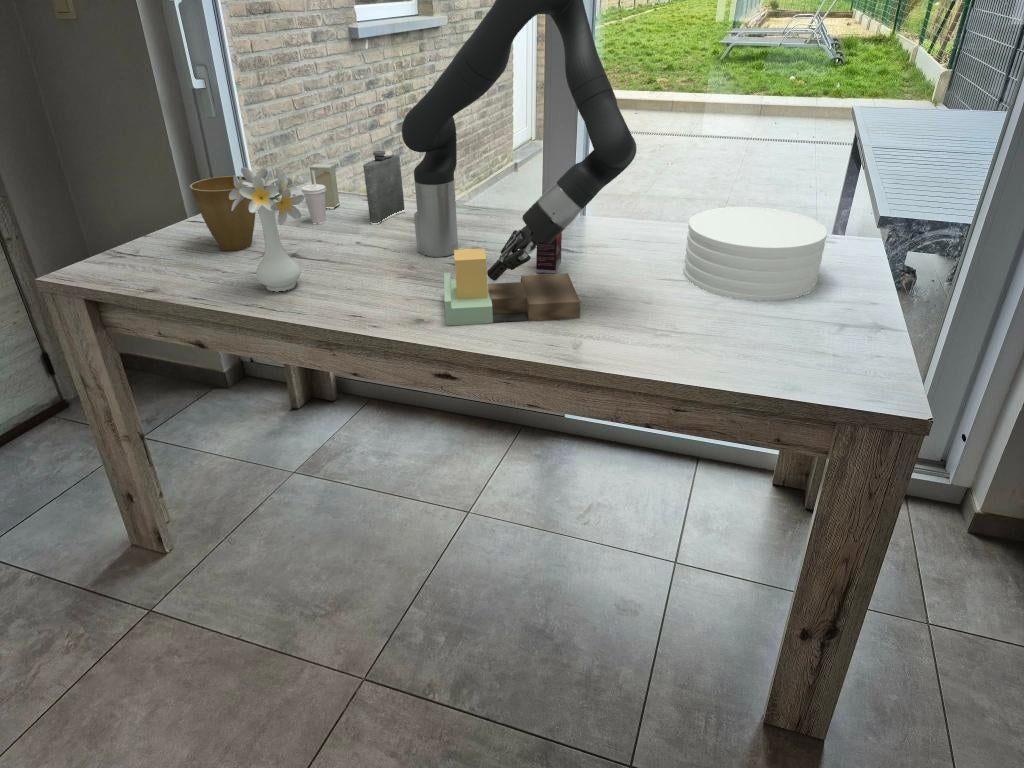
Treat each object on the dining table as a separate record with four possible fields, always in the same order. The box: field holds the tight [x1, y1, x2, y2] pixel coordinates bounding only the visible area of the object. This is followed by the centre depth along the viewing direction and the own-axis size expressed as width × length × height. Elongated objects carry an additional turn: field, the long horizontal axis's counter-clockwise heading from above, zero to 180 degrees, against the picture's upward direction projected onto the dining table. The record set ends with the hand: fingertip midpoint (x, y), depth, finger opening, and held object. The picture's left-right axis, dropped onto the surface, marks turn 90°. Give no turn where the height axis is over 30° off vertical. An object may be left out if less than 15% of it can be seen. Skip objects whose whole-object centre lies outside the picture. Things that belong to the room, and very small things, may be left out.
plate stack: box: [683, 206, 828, 301], centre depth 152 cm, size 28×28×12 cm
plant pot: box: [189, 175, 256, 252], centre depth 174 cm, size 15×15×16 cm
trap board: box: [488, 272, 581, 324], centre depth 142 cm, size 17×15×4 cm
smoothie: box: [301, 171, 327, 224], centre depth 191 cm, size 6×6×14 cm
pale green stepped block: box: [443, 272, 494, 326], centre depth 141 cm, size 9×15×5 cm, turn 5°
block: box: [453, 248, 488, 299], centre depth 138 cm, size 6×6×8 cm
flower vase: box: [229, 167, 305, 293], centre depth 147 cm, size 13×18×25 cm
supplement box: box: [535, 231, 563, 274], centre depth 157 cm, size 9×5×16 cm, turn 168°
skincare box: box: [309, 163, 340, 207], centre depth 204 cm, size 6×4×12 cm
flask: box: [362, 150, 405, 223], centre depth 193 cm, size 4×14×18 cm, turn 153°
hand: (490, 277), depth 139 cm, fingers closed
